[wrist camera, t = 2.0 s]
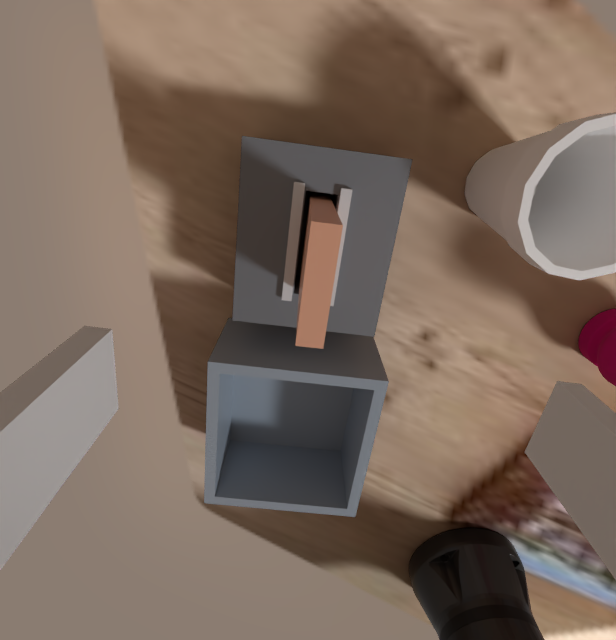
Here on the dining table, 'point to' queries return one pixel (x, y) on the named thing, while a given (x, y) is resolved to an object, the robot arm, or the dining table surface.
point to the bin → (290, 419)
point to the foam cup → (554, 197)
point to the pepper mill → (601, 343)
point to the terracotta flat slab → (317, 270)
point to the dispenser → (290, 224)
